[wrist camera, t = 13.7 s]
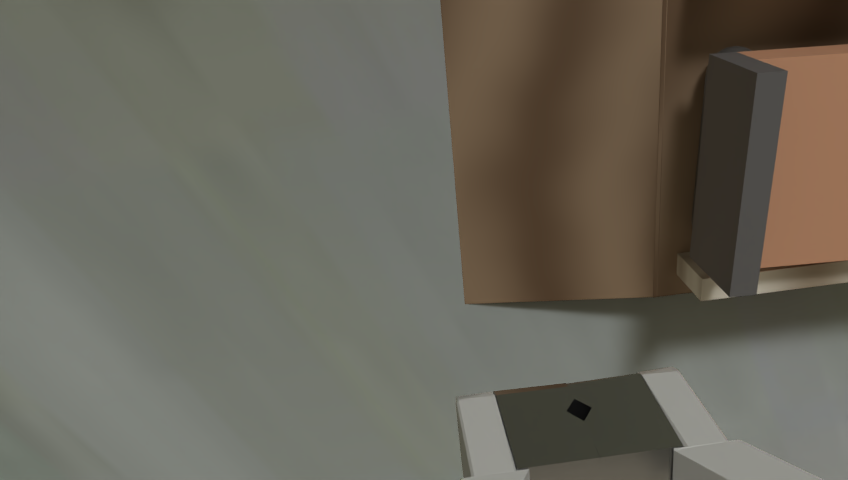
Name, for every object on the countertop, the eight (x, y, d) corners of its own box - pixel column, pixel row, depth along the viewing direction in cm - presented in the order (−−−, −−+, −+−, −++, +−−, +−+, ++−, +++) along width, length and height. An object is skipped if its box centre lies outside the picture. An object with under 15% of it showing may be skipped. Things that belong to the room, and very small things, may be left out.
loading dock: (960, -106, 30) (1070, -109, 26) (900, 238, 36) (980, 285, 32) (432, -51, 29) (448, -43, 25) (460, 293, 35) (477, 351, 31)
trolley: (935, 27, 30) (1055, 51, 25) (895, 217, 33) (994, 273, 28) (686, 44, 29) (757, 73, 24) (670, 236, 32) (729, 297, 27)
